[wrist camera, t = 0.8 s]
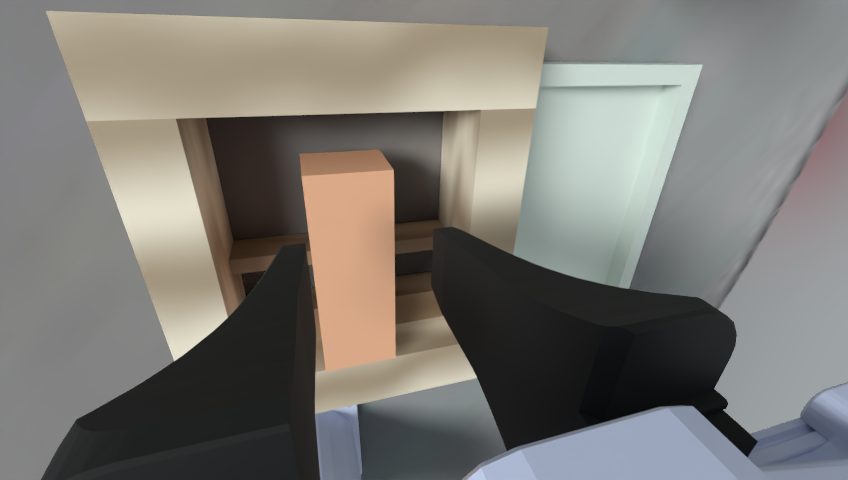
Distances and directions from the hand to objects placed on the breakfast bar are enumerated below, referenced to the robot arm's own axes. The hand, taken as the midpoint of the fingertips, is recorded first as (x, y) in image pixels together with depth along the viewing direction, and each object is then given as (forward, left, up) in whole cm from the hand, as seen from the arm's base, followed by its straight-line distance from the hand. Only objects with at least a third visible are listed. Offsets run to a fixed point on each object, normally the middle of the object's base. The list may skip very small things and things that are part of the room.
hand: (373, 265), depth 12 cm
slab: (-4, 0, -8) cm, 9 cm away
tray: (-3, -14, -10) cm, 17 cm away
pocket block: (-3, 0, -10) cm, 10 cm away
